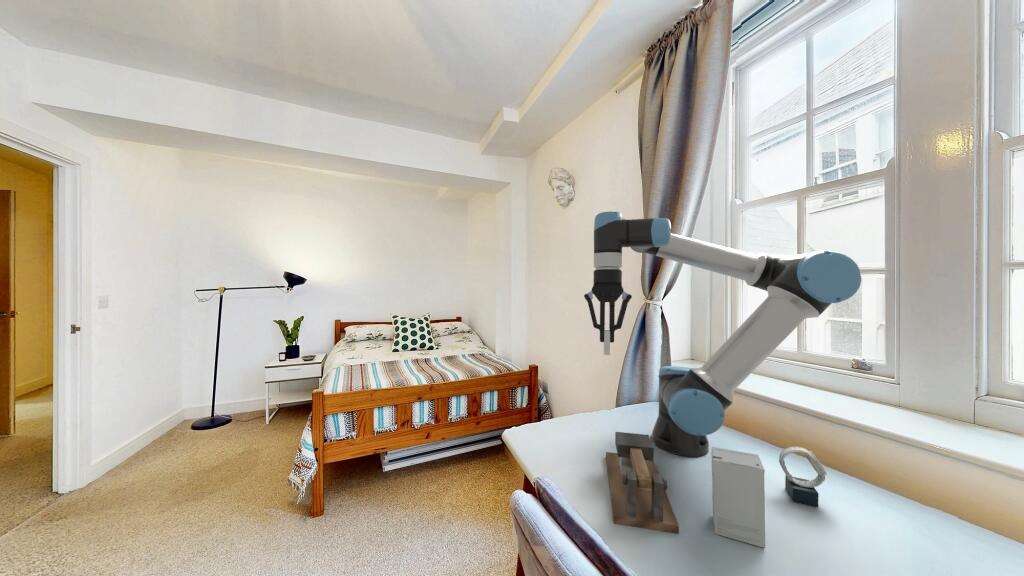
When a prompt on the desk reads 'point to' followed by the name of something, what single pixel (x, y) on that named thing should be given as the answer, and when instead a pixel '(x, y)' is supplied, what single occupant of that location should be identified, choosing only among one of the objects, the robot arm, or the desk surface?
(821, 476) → the watch
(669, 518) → the press base
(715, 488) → the skincare box
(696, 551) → the desk surface
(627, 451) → the lever
